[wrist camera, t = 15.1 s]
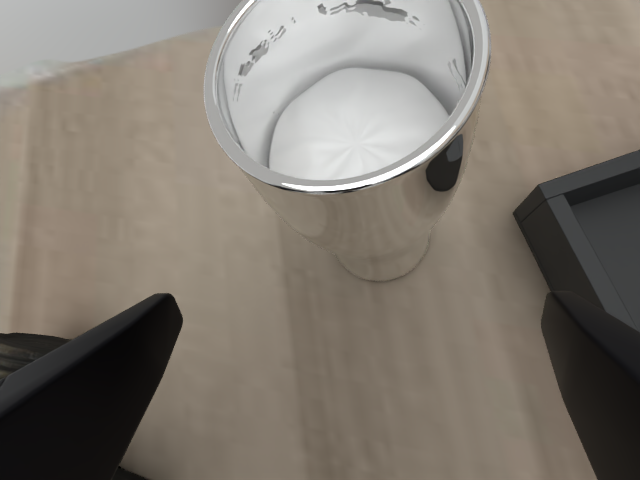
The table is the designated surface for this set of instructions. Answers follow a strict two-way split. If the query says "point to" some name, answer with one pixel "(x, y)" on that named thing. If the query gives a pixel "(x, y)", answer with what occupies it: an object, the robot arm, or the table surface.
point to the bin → (590, 234)
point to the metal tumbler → (352, 117)
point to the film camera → (22, 349)
